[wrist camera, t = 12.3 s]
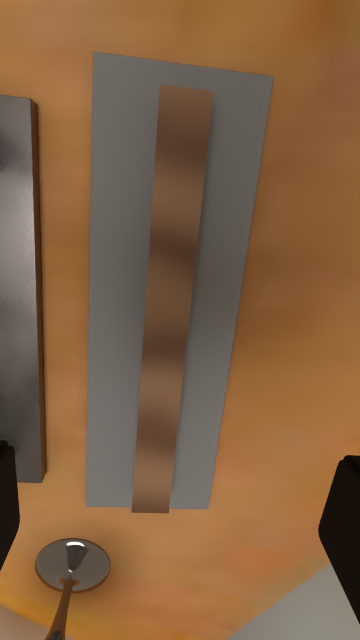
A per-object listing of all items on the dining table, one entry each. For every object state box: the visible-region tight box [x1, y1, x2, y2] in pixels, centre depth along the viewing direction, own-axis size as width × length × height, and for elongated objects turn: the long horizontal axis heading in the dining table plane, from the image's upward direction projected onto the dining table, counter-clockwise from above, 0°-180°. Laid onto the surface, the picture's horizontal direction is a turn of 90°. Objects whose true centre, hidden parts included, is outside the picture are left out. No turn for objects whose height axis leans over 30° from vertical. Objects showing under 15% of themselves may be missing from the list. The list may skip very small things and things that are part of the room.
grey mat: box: [86, 52, 273, 509], centre depth 26 cm, size 34×11×1 cm, turn 174°
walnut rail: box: [132, 84, 214, 513], centre depth 24 cm, size 30×3×2 cm, turn 175°
